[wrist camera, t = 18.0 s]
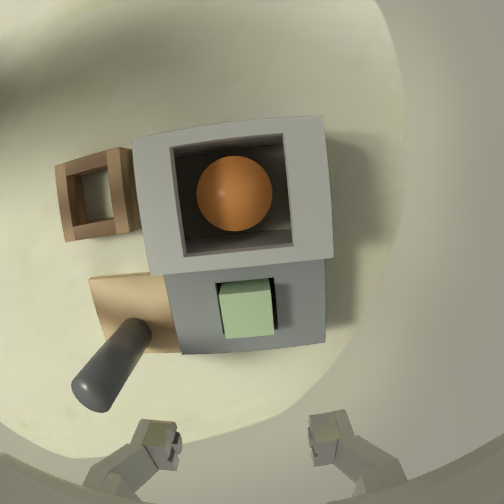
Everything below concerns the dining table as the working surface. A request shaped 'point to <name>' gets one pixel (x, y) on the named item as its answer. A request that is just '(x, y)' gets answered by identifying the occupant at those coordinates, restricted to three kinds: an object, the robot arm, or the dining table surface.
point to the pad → (136, 307)
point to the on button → (246, 308)
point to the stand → (120, 190)
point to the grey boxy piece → (240, 235)
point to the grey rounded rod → (111, 366)
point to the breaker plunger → (234, 193)
